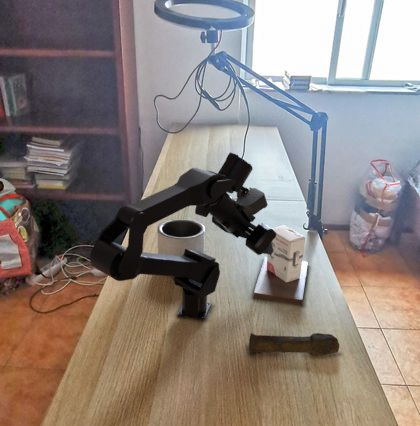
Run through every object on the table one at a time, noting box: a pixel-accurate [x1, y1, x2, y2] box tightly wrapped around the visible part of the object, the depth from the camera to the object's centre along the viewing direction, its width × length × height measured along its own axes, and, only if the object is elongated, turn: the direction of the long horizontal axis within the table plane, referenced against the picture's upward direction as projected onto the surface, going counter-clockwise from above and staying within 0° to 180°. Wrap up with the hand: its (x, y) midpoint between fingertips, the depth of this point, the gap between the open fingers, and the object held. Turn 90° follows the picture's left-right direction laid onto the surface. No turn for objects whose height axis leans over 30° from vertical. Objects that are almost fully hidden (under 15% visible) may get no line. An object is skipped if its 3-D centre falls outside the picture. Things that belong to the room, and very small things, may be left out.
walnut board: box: [252, 255, 309, 306], centre depth 127 cm, size 20×12×2 cm, turn 167°
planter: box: [157, 218, 206, 256], centre depth 130 cm, size 12×12×11 cm
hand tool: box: [248, 332, 340, 357], centre depth 102 cm, size 19×4×5 cm, turn 87°
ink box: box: [267, 224, 306, 282], centre depth 124 cm, size 9×5×12 cm, turn 33°
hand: (260, 244), depth 118 cm, fingers open, 9 cm apart
